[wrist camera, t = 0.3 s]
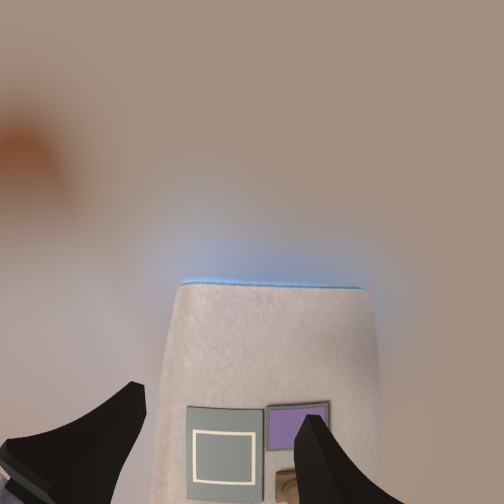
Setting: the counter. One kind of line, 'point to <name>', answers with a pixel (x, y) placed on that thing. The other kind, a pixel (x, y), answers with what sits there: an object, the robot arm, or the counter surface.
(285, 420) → the ink pad
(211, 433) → the board
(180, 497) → the counter surface
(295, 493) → the stamp
